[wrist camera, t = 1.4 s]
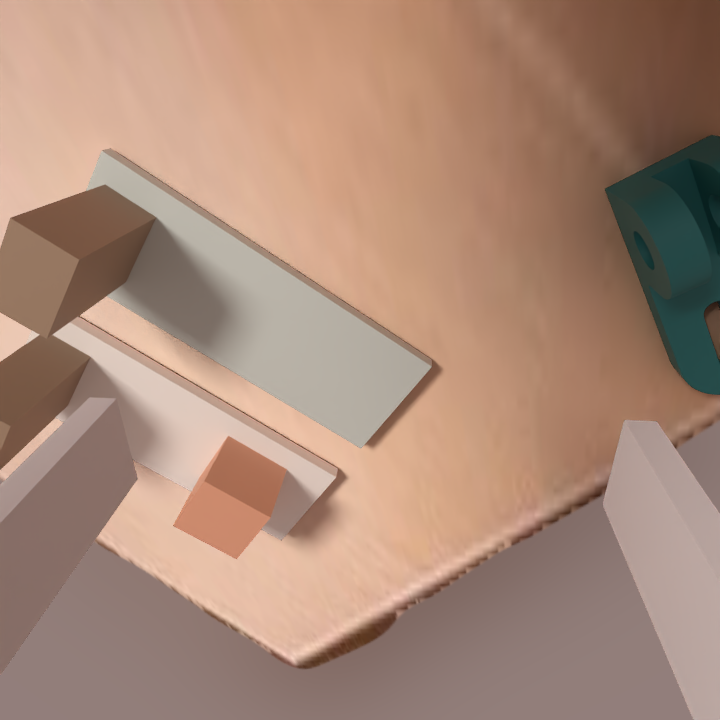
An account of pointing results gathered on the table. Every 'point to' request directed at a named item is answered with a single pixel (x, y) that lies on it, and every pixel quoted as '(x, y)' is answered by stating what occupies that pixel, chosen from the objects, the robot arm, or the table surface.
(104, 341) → the cube strip
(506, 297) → the table surface
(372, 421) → the strip with upright block
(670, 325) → the bracket
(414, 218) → the table surface
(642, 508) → the robot arm
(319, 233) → the table surface
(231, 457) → the cube
